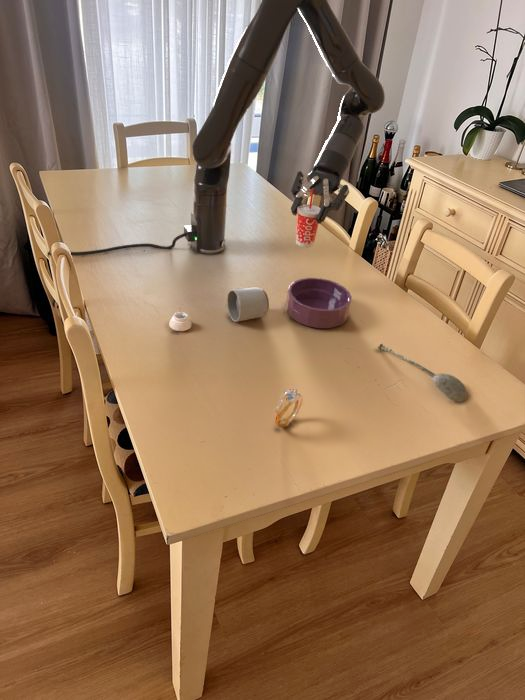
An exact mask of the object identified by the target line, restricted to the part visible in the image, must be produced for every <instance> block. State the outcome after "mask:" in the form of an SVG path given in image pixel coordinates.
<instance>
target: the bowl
mask: <svg viewBox="0 0 525 700" xmlns="http://www.w3.org/2000/svg"><path fill="white" fill-rule="evenodd" d="M351 303H352V295H351V292H350V291H349V290H348V289H347V288H346V287H345V286H343V285H342V284H340V283H338V282H336V281H333V280H330V279H326V278H321V277H305V278H304V277H303V278H300V279H297V280H294V281H293V282H292V283H291V284H289V286H288V288H287V295H286V301H285V310H286V313H287V314H288V316H289V317H290V318H292V319H293V320H294V321H296V322H297V323H300V324H301V325H304V326H307V327H312V328H316V329H330V328H336V327H338V326H341V325H343V324H344V323H345V322H346V321H347V320H348V316H349V311H350V309H351Z"/></svg>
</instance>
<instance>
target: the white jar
mask: <svg viewBox="0 0 525 700" xmlns="http://www.w3.org/2000/svg"><path fill="white" fill-rule="evenodd" d="M192 323H193V322H192V320H191V319H190V317H189V316H188V314H187V313H186V312H184V311H177V312H175V313H173V316H171V318H170V320H169V324H168V325H169V327H170V329H172V330H173V331H177V332H184V331H187V330H190V329H191V328H192Z"/></svg>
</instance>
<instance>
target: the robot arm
mask: <svg viewBox="0 0 525 700" xmlns="http://www.w3.org/2000/svg"><path fill="white" fill-rule="evenodd" d="M297 11H298V12H299V14H300V16H301V17H302V19H303V20H304V22H305V23H306V25H307V27H308V30H309V32H310V34H311V35H312V38H313V40H314V42H315V45H316V46H317V48H318V51H319V53H320V55H321V57H322V59H323V60H324V62H325V64H326V66H327V68H328V70H329V71H330V73H331V75H332V77H333V79H334V80H335V81H336V83H337V84H340V85H346V86H350V88H349V89H348V90H347V91H346V92H345V94H344V95H343V97H342V100H341V103H340V107H339V112H338V116H337V121H336V123H335V125H334V127H333V129H332V131H331V133H330V135H329V137H328V138H327V139H326V140H325V143H324V145H323V147H322V149H321V151H320V153H319V155H318V157H317V159H316V161H315V163H314V165H313V168H312V170H311V172H309V173H308V174H307V173H303V172H302V171H301V170H299V171H298V172H296V176H295V179H294V181H293V184H292V187H291V190H290V193H291V195H292V197H293V198H294V201H293V203H292V204H291V207H290V211H291V214H292V215H293V216H298V212H297V207H298V206H300V205H303V202H304V201H305V200H306V199H307V198H311V192H312V189H314V192H313V196H319V197H320V198H323V205H322V206H321V207H320V208H321V210H320V212H319V214H318V216H317V218H316V221H317V223H319V224H318V225H320V224H321V223H324V222H325V220H326V218H327V216H328V214H329V213H330V211H335V212H337V211H339V210H340V208H341V206H342V205H343V203H344V202H345V200H346V199H347V197H348V196H349V194H350V189H349V186H348V184H341V181H342V180H343V178H344V176H345V174H346V172H347V169H348V168H349V166H350V164H351V162H352V161H353V160H352V159H353V157H354V155H355V152H356V149H357V147H358V145H359V142H360V141H361V138H362V136H363V134H364V131H365V124H364V122H363V120H361V119H362V117H364V116H368V115H371V114H374V113H378V112H379V111H380V110H381V109H382V108H383V107H384V104H385V101H386V95H385V93H386V92H385V90H384V87H383V84H382V83H381V81H380V80H379V78H378V77H376V75H375V74H374V73H373V72H372V71H371V70H370V69H369V68H368V66H366V65H365V64H364V63H363V62H362V60H361V58H360V57H359V54H358V51H357V50H356V49H355V47H354V44H353V43H352V41H351V38H350V37H349V35H348V34H347V32H346V30H345V28H344V27H343V25H342V24H341V22H340V21H339V19H338V17H337V16H336V14H335V12H334V11H333V9H332V7H331V5H330V3H329V1H328V0H261V2H260V5H259V7H258V9H257V11H256V12H255V14H254V16H253V17H252V19H251V21H250V22H249V24H248V25H247V27H246V28H245V29H244V32H243V34H242V35H241V37H240V39H239V40H238V42H237V44H236V46H235V48H234V51H233V53H232V55H231V58H230V59H229V61H228V63H227V66H226V69H225V72H224V74H223V76H222V79H221V81H220V85H219V87H218V90H217V93H216V96H215V99H214V102H213V105H212V107H211V110H210V112H209V114H208V116H207V118H206V120H205V121H204V123H203V125H202V127H201V128H200V130H199V131H198V133H197V135H196V136H195V138H194V139H193V140H192V145H191V152H192V153H191V155H192V158H193V160H194V162H195V173H194V177H193V197H192V199H193V202H192V204H193V205H192V209H193V210H192V212H191V213H190V224H189V225H183V233H181V234H179V235H177V236H176V237H174V238H173V240H172V242H171V245H167V246H166V245H159V244H154V243H149V242H148V243H146V242H145V243H131V244H123V245H117V246H112V247H108V248H107V247H106V248H102V249H101V248H100V249H93V250H86V251H70V250H69V251H70V252H71V255H70V256H86V255H95V254H103V253H109V252H113V251H117V250H124V249H132V248H133V249H134V248H145V247H146V248H154V249H162V250H172V249H173V248H175V246H176V243H177V241H179V240H180V239H182V238H185V240H186V241H187V243H190V245H191V247H192V248H193V250H194V251H195V253H201V254H208V255H214V254H219V253H221V252H223V251H224V250H225V246H226V239H227V238H226V222H227V221H226V220H227V204H228V203H227V201H228V186H229V179H230V171H231V161H232V140H233V138H234V135H235V133H236V130H237V128H238V126H239V124H240V123H241V121H242V119H243V118H244V116H245V114H246V113H247V112H248V111H249V109H250V108H251V106H252V104H253V103H254V101H255V100H256V98H257V96H258V94H259V93H260V91H261V89H262V87H263V86H264V84H265V81H266V79H267V77H268V75H269V74H270V71H271V69H272V66H273V64H274V62H275V59H276V58H277V56H278V52H279V50H280V48H281V45H282V42H283V39H284V36H285V34H286V32H287V30H288V27H289V26H290V23H291V21H292V20H293V18H294V16H295V15H296V13H297ZM306 181H307V183H306ZM305 183H306V184H305ZM303 184H305V185H303ZM302 186H303V187H302ZM336 191H337V192H338V193H337V194H336V197H335V198H334V199H333V201H332V194H334V193H335V192H336ZM50 251H51V250H49V251H48V253H47V255H49V256H50V255H51V254H50Z"/></svg>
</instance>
